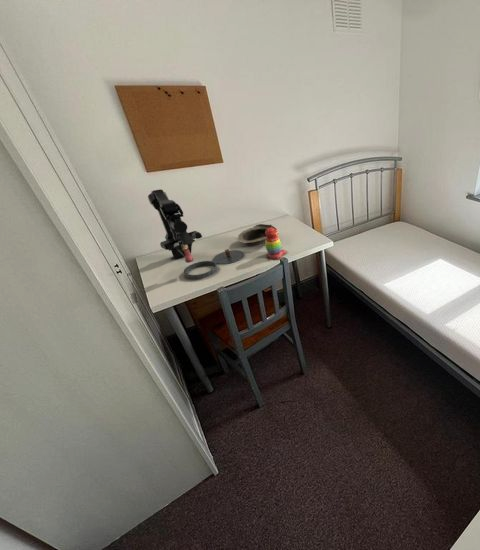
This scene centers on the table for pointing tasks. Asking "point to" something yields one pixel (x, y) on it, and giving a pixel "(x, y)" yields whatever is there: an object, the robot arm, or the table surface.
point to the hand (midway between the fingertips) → (187, 254)
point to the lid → (228, 257)
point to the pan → (204, 275)
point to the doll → (187, 253)
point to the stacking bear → (273, 244)
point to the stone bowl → (254, 235)
